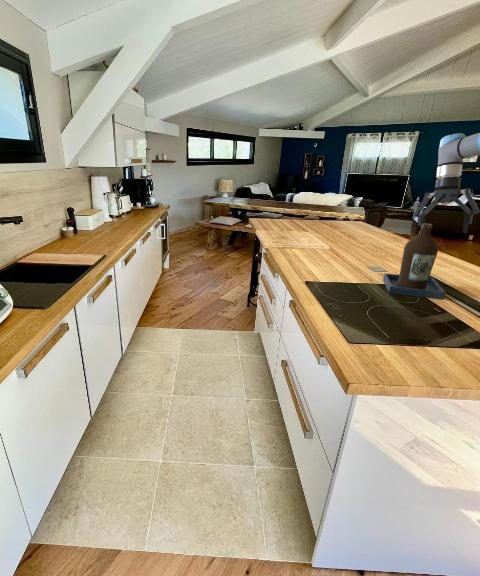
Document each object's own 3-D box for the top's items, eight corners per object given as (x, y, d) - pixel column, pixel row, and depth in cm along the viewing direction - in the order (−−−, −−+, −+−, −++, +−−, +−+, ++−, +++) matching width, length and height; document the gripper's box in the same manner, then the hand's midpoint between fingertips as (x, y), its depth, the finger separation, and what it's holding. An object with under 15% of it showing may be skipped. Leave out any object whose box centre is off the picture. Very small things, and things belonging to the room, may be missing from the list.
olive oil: (391, 281, 131) (405, 221, 122) (420, 282, 129) (436, 221, 120) (401, 290, 122) (417, 226, 112) (432, 292, 119) (451, 227, 110)
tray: (431, 284, 129) (433, 277, 128) (443, 299, 115) (445, 292, 114) (383, 279, 136) (384, 273, 135) (388, 293, 122) (390, 286, 121)
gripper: (494, 173, 114) (487, 232, 116) (413, 184, 133) (409, 234, 136) (490, 170, 109) (483, 231, 112) (407, 181, 128) (402, 234, 131)
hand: (442, 233), depth 124 cm, fingers open, 13 cm apart
